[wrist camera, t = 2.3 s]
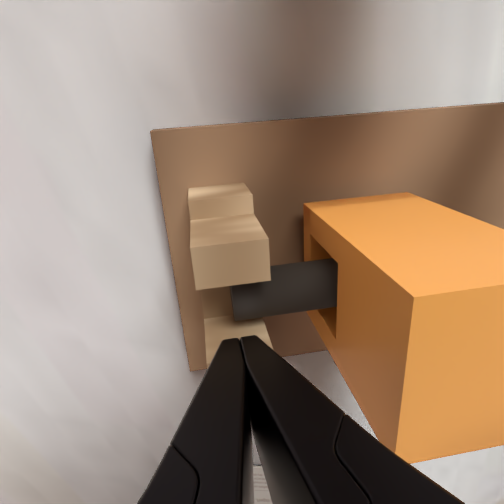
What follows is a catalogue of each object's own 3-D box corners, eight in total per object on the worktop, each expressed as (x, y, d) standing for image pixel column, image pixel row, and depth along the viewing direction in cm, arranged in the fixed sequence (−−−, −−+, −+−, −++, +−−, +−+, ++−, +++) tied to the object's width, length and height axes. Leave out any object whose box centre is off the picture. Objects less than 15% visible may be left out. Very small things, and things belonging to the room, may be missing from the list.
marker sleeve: (407, 192, 13) (607, 269, 7) (397, 295, 15) (550, 435, 9) (303, 203, 13) (413, 297, 6) (304, 308, 15) (393, 466, 8)
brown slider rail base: (708, 86, 16) (985, 73, 10) (632, 287, 20) (804, 357, 14) (153, 129, 13) (125, 144, 7) (190, 354, 17) (189, 474, 11)
